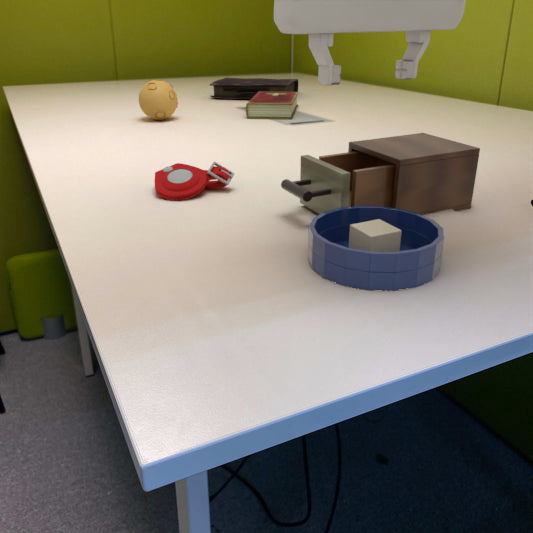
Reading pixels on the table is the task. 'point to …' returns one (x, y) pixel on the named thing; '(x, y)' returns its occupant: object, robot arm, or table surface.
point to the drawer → (343, 181)
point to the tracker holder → (189, 180)
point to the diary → (251, 87)
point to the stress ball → (158, 99)
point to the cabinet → (426, 171)
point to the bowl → (370, 262)
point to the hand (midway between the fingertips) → (368, 81)
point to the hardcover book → (272, 105)
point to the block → (374, 236)
